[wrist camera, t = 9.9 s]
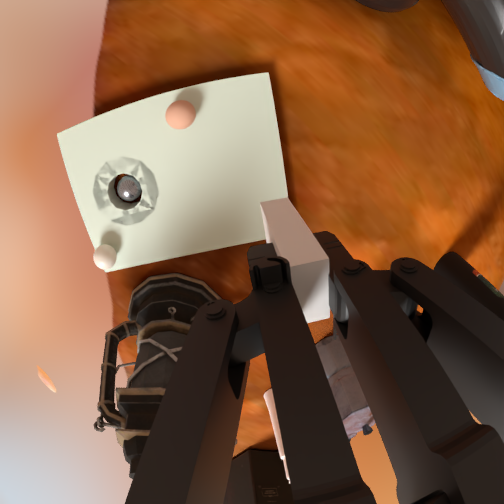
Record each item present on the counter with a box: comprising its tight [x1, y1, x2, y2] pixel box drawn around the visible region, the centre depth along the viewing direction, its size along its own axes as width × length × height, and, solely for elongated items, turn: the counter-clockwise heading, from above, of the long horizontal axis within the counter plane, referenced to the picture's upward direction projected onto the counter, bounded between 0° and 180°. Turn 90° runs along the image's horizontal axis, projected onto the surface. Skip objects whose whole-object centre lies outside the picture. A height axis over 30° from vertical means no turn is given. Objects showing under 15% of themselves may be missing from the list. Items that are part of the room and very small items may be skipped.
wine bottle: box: [434, 252, 504, 321], centre depth 33 cm, size 8×8×30 cm
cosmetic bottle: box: [264, 388, 290, 484], centre depth 48 cm, size 6×6×22 cm
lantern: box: [94, 273, 237, 479], centre depth 30 cm, size 20×16×30 cm
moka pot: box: [316, 335, 375, 442], centre depth 43 cm, size 10×15×20 cm, turn 176°
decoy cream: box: [93, 244, 117, 269], centre depth 33 cm, size 3×3×3 cm
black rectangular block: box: [223, 450, 294, 504], centre depth 71 cm, size 38×20×25 cm, turn 150°
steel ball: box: [117, 175, 142, 201], centre depth 32 cm, size 3×3×3 cm
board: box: [57, 72, 288, 272], centre depth 32 cm, size 20×26×2 cm
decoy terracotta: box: [165, 100, 196, 129], centre depth 26 cm, size 3×3×3 cm
